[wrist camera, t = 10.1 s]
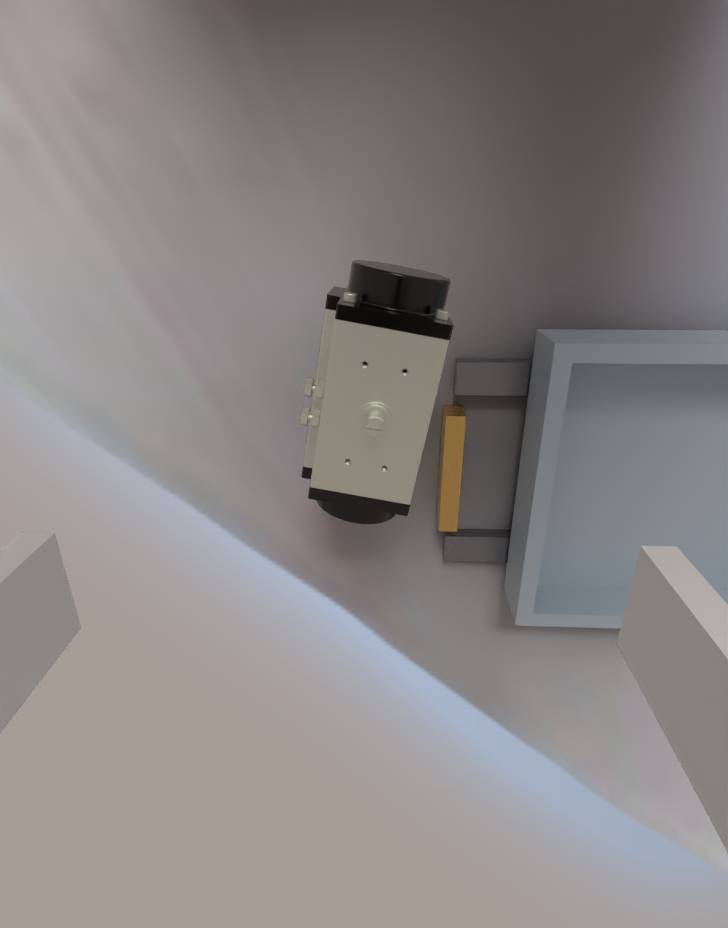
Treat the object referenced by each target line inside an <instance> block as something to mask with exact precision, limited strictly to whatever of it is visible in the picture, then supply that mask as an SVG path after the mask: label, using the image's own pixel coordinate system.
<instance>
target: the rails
mask: <svg viewBox="0 0 728 928" xmlns="http://www.w3.org/2000/svg"><path fill="white" fill-rule="evenodd" d="M532 362H533V359H457V358H456V362H455V377H454V393H455V395H494V396H528V394H529V386H530V378H531V370H532ZM465 425H466V415H465V412H464V409H463V407H462V406H443V414H442V431H441V448H440V465H439V482H438V499H437V523H438V530H439V531H444V542H443V558H444V561H468V562H507V560H508V552H509V544H510V536H511V530H480V529H457V527H458V514H459V501H460V489H461V476H462V463H463V450H464V438H465Z"/></svg>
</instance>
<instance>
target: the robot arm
mask: <svg viewBox="0 0 728 928" xmlns="http://www.w3.org/2000/svg"><path fill="white" fill-rule="evenodd" d="M80 629H81V625H80V622H79V618H78V615H77V611H76V607H75V604H74V600H73V596H72V593H71V590H70V586H69V582H68V579H67V575H66V571H65V568H64V565H63V561H62V557H61V554H60V550H59V547H58V543H57V539H56V536H55V533H44V532H43V533H42V532H22V533H20V534H19V535H18V536H17V537H16V538H15V539H13V540H12V541H11V542H10V543H9V544H7V545H6V546H5V547H4V548H3V549H1V550H0V733H1V732H2V730H3V729H4V728H5V727H6V725H7V724H8V723H9V721H10V720H11V719H12V717H13V716H14V715H15V713H16V712H17V711H18V710H19V708H20V707H21V706H22V704H23V703H24V702H25V700H26V699H27V698H28V696H29V695H30V694H31V692H32V691H33V690H34V688H35V687H36V686H37V685H38V683H39V682H40V681H41V679H42V678H43V677H44V675H45V674H46V673H47V672H48V670H49V669H50V668H51V666H52V665H53V664H54V662H55V661H56V660H57V659H58V657H59V656H60V655H61V653H62V652H63V651H64V649H65V648H66V647H67V645H68V644H69V643H70V642H71V640H72V639H73V638H74V636H75V635H76V634H77V632H78V631H79V630H80ZM617 645H618V647H619V649H620V651H621V653H622V655H623V657H624V658H625V660H626V662H627V664H628V666H629V668H630V670H631V672H632V673H633V675H634V677H635V679H636V681H637V683H638V685H639V687H640V688H641V690H642V692H643V694H644V696H645V698H646V700H647V702H648V703H649V705H650V707H651V709H652V711H653V713H654V715H655V717H656V718H657V720H658V722H659V724H660V726H661V728H662V730H663V732H664V733H665V735H666V737H667V739H668V741H669V743H670V745H671V747H672V748H673V750H674V752H675V754H676V756H677V758H678V760H679V762H680V763H681V765H682V767H683V769H684V771H685V773H686V775H687V777H688V778H689V780H690V782H691V784H692V786H693V788H694V790H695V792H696V793H697V795H698V797H699V799H700V801H701V803H702V805H703V807H704V808H705V810H706V812H707V814H708V816H709V818H710V820H711V822H712V823H713V825H714V827H715V829H716V831H717V833H718V835H719V837H720V839H721V840H722V842H723V844H724V846H725V848H726V850H727V852H728V604H727V603H726V602H725V601H724V600H723V599H722V598H721V596H720V595H719V594H718V593H717V592H716V591H715V590H714V588H713V587H712V586H711V585H710V584H709V583H708V582H707V580H706V579H705V578H704V577H703V576H702V575H701V574H700V572H699V571H698V570H697V569H696V568H695V567H694V566H693V565H692V563H691V562H690V561H689V560H688V559H687V558H686V557H685V555H684V554H683V553H682V552H681V551H680V550H679V549H678V547H677V546H640V550H639V554H638V558H637V562H636V566H635V570H634V574H633V579H632V583H631V587H630V591H629V595H628V599H627V603H626V607H625V611H624V615H623V620H622V624H621V628H620V632H619V636H618V640H617Z"/></svg>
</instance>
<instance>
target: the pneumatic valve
mask: <svg viewBox="0 0 728 928" xmlns="http://www.w3.org/2000/svg"><path fill="white" fill-rule="evenodd" d="M449 285H450V280H449V279H448V278H446V277H444V276H441V275H437V274H434V273H430V272H426V271H422V270H417V269H412V268H408V267H403V266H397V265H392V264H386V263H379V262H372V261H362V260H355V261H353V262H352V266H351V273H350V279H349V285H348V288H347V289H346V288H340V287H333V288H332V289H331V291H330V292H329V293H328V294H327V300H326V307H325V314H324V321H323V329H322V336H321V343H320V350H319V357H318V364H317V371H316V378H315V384H314V379H313V378H307V379H306V382H305V387H304V396H307V397H311V396H312V392H313V399H312V406H311V414H310V408H306V407H303V408H302V411H301V416H300V424H301V425H306V426H307V424H308V421H309V428H308V435H307V442H306V449H305V456H304V463H303V470H302V477H303V478H307V479H311V482H310V488H309V495H308V498H309V499H314V500H317V502H318V504H319V506H320V507H321V508H322V509H323V510H324V511H326V512H327V513H329V514H330V515H332V516H334V517H336V518H339V519H341V520H344V521H348V522H352V523H358V524H377V523H382V522H385V521H388V520H390V519H391V518H393V517H394V516H395V515H396V514H399V515H404V516H407V515H408V511H409V507H410V503H411V499H412V495H413V491H414V487H415V482H416V478H417V474H418V470H419V466H420V462H421V458H422V453H423V449H424V445H425V441H426V437H427V433H428V429H429V424H430V420H431V416H432V412H433V408H434V404H435V400H436V395H437V391H438V387H439V383H440V379H441V375H442V371H443V366H444V362H445V358H446V354H447V350H448V346H449V342H450V337H451V333H452V329H453V324H452V322H451V320H450V319H449V317H448V316H449V311H446V310H444V307H445V303H446V298H447V294H448V290H449Z"/></svg>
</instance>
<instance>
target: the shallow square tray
mask: <svg viewBox="0 0 728 928" xmlns="http://www.w3.org/2000/svg"><path fill="white" fill-rule="evenodd" d="M640 546H677V547H678V549H679V550H680V551H681V552H682V553H683V554H684V555H685V557H686V558H687V559H688V560H689V561H690V562H691V563H692V565H693V566H694V567H695V568H696V569H697V570H698V571H699V572H700V574H701V575H702V576H703V577H704V578H705V579H706V580H707V582H708V583H709V584H710V585H711V586H712V587H713V588H714V590H715V591H716V592H717V593H718V594H719V595H720V596H721V598H722V599H723V600H724V601H725V602H726V603H727V604H728V330H571V329H537V331H536V339H535V346H534V354H533V362H532V370H531V378H530V386H529V394H528V402H527V410H526V418H525V425H524V433H523V441H522V449H521V457H520V465H519V473H518V481H517V489H516V497H515V504H514V512H513V520H512V528H511V536H510V544H509V552H508V560H507V568H506V576H505V583H504V591H505V594H506V597H507V601H508V604H509V607H510V610H511V614H512V617H513V620H514V624H515V626H547V627H581V628H615V629H620V628H621V624H622V620H623V615H624V611H625V607H626V603H627V599H628V595H629V591H630V587H631V583H632V579H633V574H634V570H635V566H636V562H637V558H638V554H639V550H640Z"/></svg>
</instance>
